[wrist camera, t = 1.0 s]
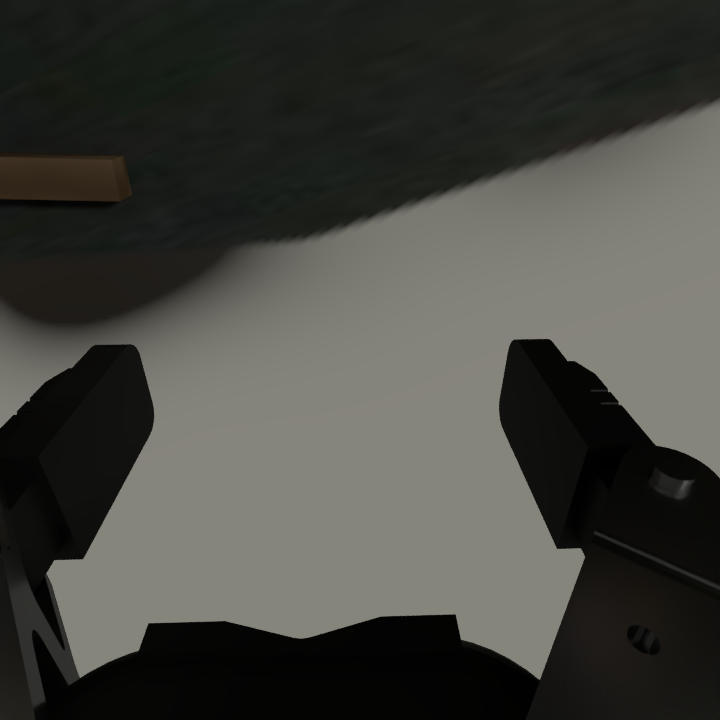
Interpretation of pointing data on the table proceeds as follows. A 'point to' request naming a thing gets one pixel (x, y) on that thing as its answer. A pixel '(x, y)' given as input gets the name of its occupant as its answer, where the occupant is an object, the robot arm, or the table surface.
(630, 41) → the table surface
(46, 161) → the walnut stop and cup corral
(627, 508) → the robot arm
